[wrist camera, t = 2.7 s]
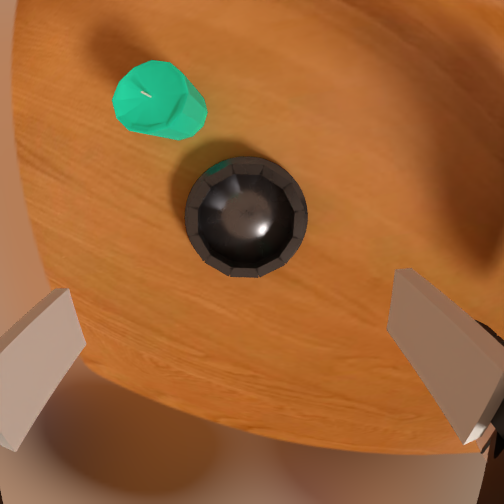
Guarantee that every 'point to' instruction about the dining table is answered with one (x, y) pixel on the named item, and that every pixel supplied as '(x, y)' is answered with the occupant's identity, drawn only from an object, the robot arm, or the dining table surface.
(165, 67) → the candle
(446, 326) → the robot arm
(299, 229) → the candle cup
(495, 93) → the dining table surface
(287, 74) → the dining table surface
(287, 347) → the dining table surface
